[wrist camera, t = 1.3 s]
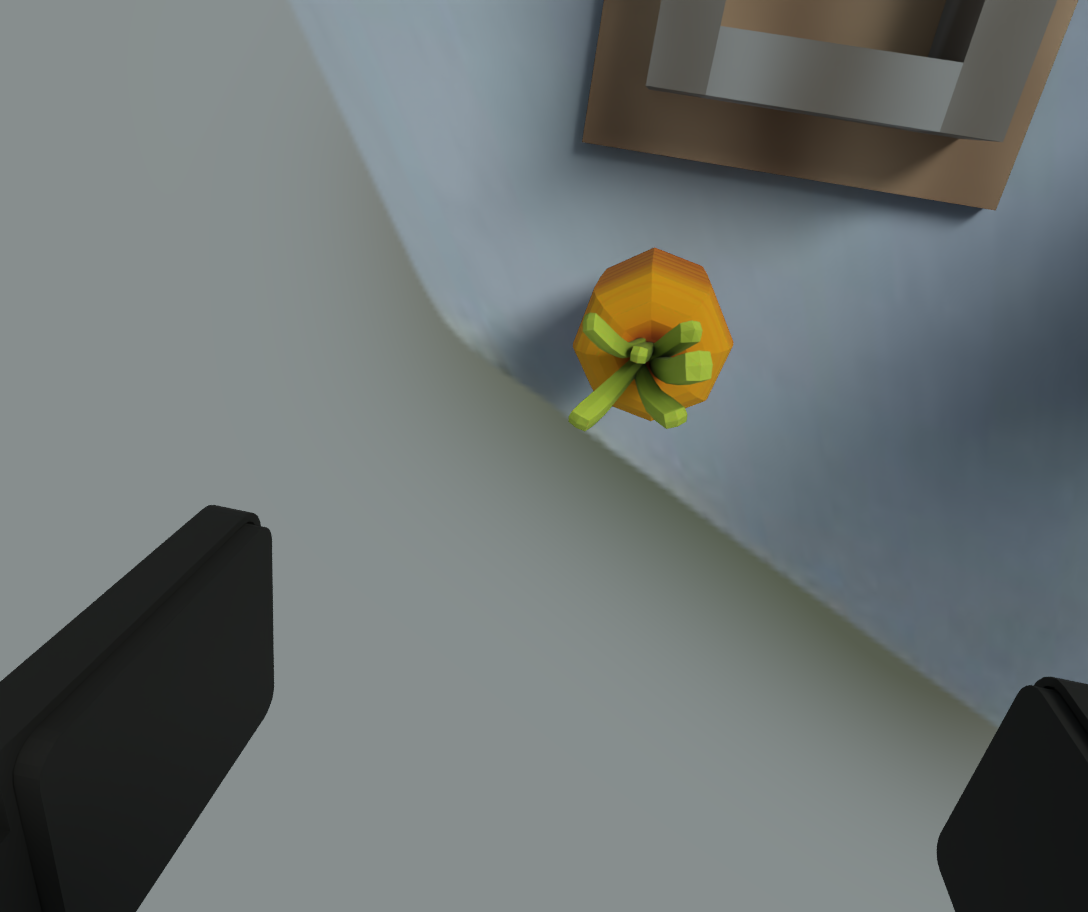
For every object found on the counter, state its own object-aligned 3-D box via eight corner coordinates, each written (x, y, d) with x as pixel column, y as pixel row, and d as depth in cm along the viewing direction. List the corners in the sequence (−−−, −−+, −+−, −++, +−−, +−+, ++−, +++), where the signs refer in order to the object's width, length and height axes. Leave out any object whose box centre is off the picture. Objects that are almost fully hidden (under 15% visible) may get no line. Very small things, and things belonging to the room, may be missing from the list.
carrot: (599, 336, 34) (554, 484, 20) (597, 222, 32) (545, 301, 18) (712, 335, 33) (744, 488, 19) (717, 218, 31) (756, 297, 17)
